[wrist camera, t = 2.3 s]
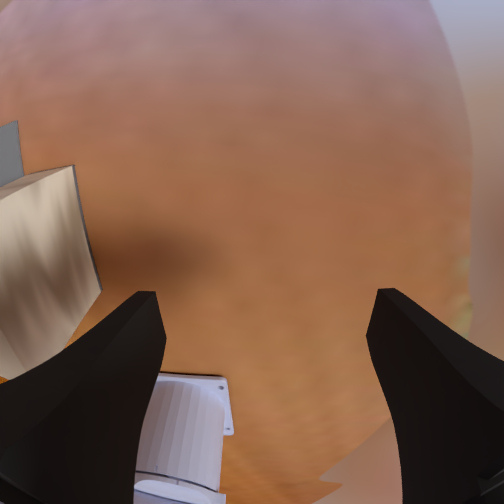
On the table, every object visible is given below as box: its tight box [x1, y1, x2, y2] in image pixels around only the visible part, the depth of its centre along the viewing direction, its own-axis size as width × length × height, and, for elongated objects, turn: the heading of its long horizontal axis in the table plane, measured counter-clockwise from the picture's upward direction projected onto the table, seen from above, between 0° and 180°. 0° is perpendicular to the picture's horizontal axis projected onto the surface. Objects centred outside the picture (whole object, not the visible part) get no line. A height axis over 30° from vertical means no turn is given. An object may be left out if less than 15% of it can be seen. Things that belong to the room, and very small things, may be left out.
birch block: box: [0, 165, 103, 380], centre depth 12 cm, size 8×4×9 cm, turn 1°
